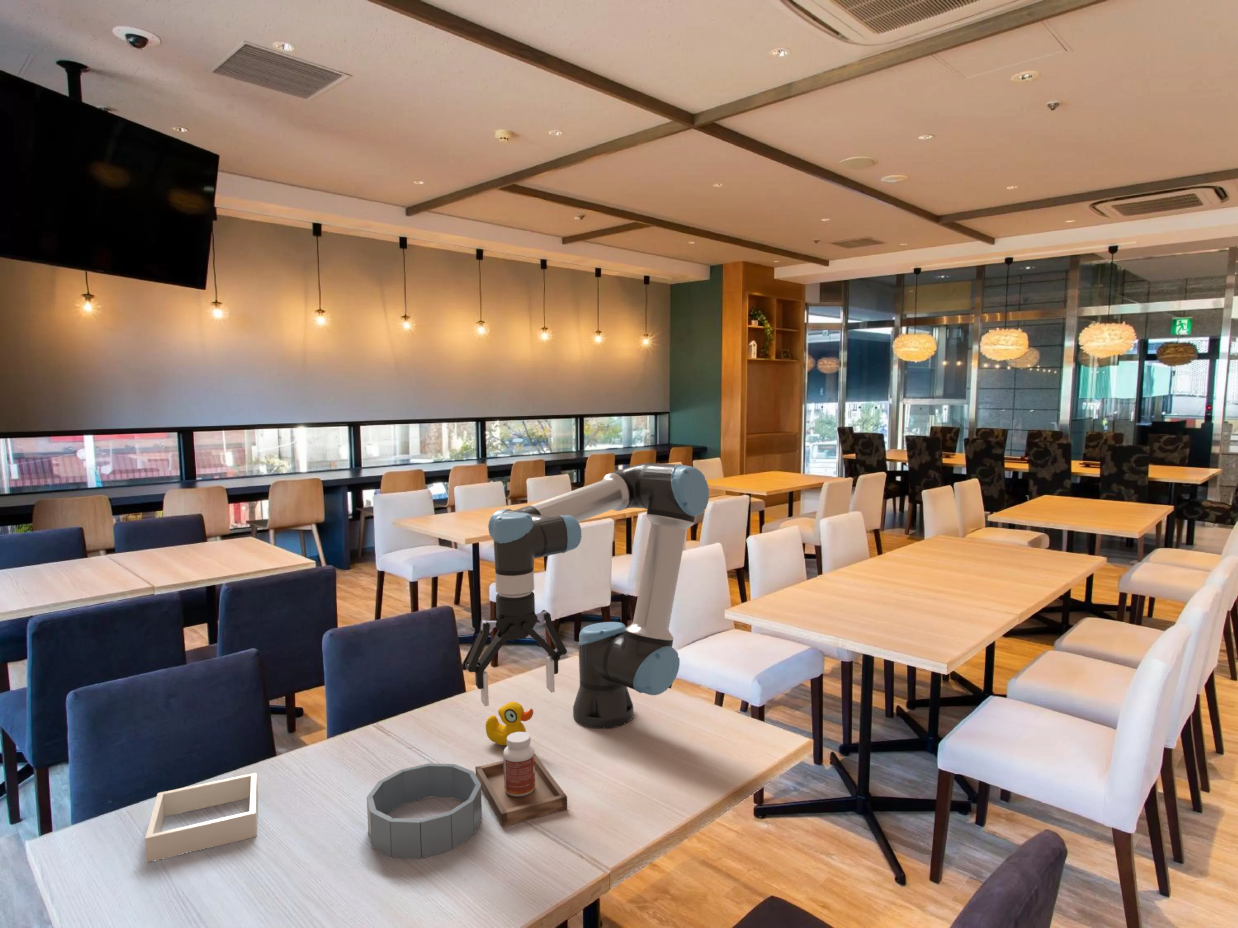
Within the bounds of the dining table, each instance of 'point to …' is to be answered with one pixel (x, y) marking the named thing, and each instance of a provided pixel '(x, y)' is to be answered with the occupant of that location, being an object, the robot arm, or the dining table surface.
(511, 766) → the pill bottle
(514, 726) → the duckling
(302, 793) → the dining table surface
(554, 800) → the tray
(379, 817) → the grey ringed piece
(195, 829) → the open rectangular frame
